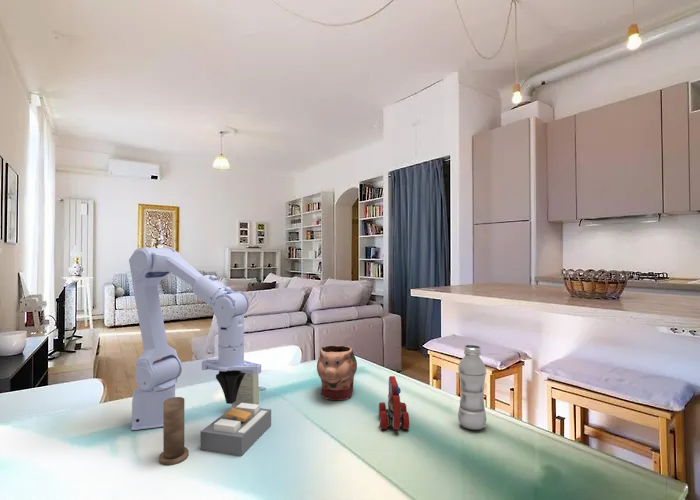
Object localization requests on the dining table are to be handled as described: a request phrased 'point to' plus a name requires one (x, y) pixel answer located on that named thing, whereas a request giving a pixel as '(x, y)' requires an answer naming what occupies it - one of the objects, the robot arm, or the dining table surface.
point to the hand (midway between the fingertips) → (231, 402)
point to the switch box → (236, 431)
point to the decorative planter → (336, 371)
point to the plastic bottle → (472, 389)
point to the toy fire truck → (393, 408)
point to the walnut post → (173, 432)
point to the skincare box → (248, 390)
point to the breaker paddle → (238, 415)
